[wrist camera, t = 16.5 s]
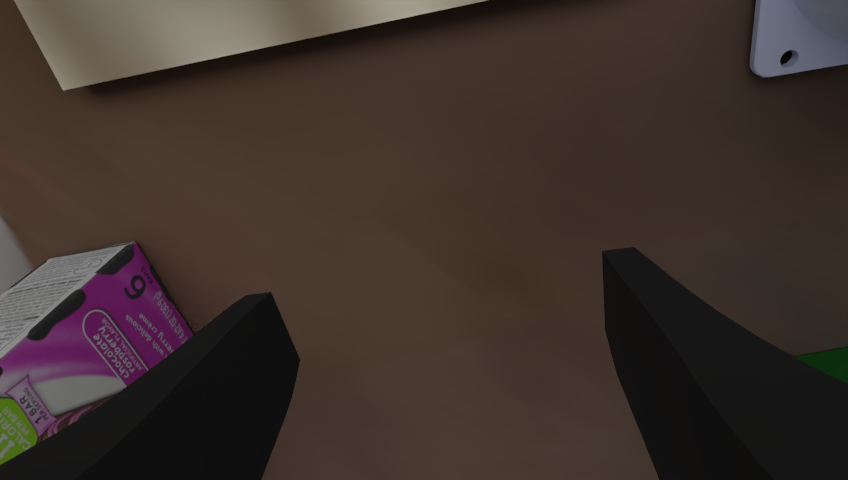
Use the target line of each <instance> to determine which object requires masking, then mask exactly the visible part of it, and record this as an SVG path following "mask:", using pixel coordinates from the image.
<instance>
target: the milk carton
mask: <svg viewBox="0 0 848 480" xmlns="http://www.w3.org/2000/svg"><path fill="white" fill-rule="evenodd" d="M794 357H795V358H797V359H799V360H801V361H803V362H804V363H806V364H808V365H810V366H812V367H814V368H816V369H818V370H820V371H822V372H824V373H826V374H828V375H830V376H832V377H834V378H836V379H838V380H840V381H843V382H845V383H847V384H848V347H847V348H841V349H835V350H830V351H824V352H818V353H812V354H806V355H800V356H794Z"/></svg>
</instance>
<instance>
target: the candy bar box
mask: <svg viewBox="0 0 848 480" xmlns="http://www.w3.org/2000/svg"><path fill="white" fill-rule="evenodd" d="M192 336H193V333H192V332H191V330H190V329H189V327H188V326H187V324H186V322H185V321H184V319H183V318H182V316H181V315H180V313H179V311H178V310H177V308H176V307H175V305H174V303H173V302H172V300H171V298H170V297H169V295H168V294H167V292H166V290H165V289H164V287H163V285H162V284H161V282H160V281H159V279H158V278H157V276H156V274H155V273H154V271H153V269H152V268H151V266H150V265H149V263H148V261H147V260H146V258H145V257H144V255H143V253H142V252H141V250H140V248H139V247H138V245H137V244H136V243H135V242H127V243H122V244H116V245H112V246H109V247H106V248H102V249H99V250H93V251H88V252H81V253H76V254H70V255H65V256H62V257H56V258H51V259H48V260H47V261H45V262H44V263H42V264H41V265H40V266H38V267H37V268H35V269H34V270H33V271H31V272H30V273H29V274H28V275H26V276H25V277H24V278H22V279H21V280H20V281H18V282H17V283H16V284H15V285H13V286H11V287H10V288H9V289H8V290H7V291H6V292H4V293H3V294H2V295H0V465H1V464H3V463H4V462H6V461H8V460H10V459H12V458H14V457H15V456H17V455H19V454H20V453H22V452H24V451H26V450H27V449H29V448H31V447H33V446H34V445H36V444H38V443H40V442H41V441H43V440H45V439H46V438H48V437H50V436H52V435H53V434H55V433H57V432H59V431H60V430H62V429H64V428H65V427H67V426H69V425H70V424H72V423H73V422H75V421H77V420H78V419H80V418H81V417H83V416H84V415H86V414H87V413H89V412H90V411H92V410H94V409H95V408H97V407H98V406H100V405H101V404H103V403H104V402H106V401H107V400H109V399H110V398H111V397H113V396H114V395H116V394H117V393H119V392H120V391H121V390H123V389H124V388H126V387H127V386H128V385H130V384H131V383H132V382H134V381H135V380H136V379H138V378H139V377H140V376H142V375H143V374H144V373H146V372H147V371H148V370H150V369H151V368H152V367H154V366H155V365H156V364H158V363H159V362H160V361H162V360H163V359H164V358H166V357H167V356H168V355H170V354H171V353H172V352H173V351H175V350H176V349H177V348H178V347H180V346H181V345H182V344H183V343H185V342H186V341H187V340H188V339H190V338H191V337H192Z"/></svg>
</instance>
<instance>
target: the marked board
mask: <svg viewBox="0 0 848 480" xmlns="http://www.w3.org/2000/svg"><path fill="white" fill-rule="evenodd" d="M14 1H15V3H16V5H17V7H18V8H19V10H20V12H21V14H22V16H23V18H24V19H25V21H26V23H27V25H28V27H29V29H30V30H31V32H32V34H33V36H34V38H35V40H36V42H37V43H38V45H39V47H40V49H41V51H42V53H43V54H44V56H45V58H46V60H47V62H48V64H49V65H50V67H51V69H52V71H53V73H54V75H55V76H56V78H57V80H58V82H59V84H60V86H61V87H62V89H63V91H64V90H68V89H73V88H78V87H82V86H87V85H92V84H97V83H101V82H106V81H111V80H115V79H120V78H125V77H129V76H134V75H139V74H144V73H148V72H153V71H158V70H162V69H167V68H172V67H177V66H181V65H186V64H191V63H195V62H200V61H205V60H210V59H214V58H219V57H224V56H228V55H233V54H238V53H243V52H247V51H252V50H257V49H261V48H266V47H271V46H275V45H280V44H285V43H290V42H294V41H299V40H304V39H308V38H313V37H318V36H323V35H327V34H332V33H337V32H341V31H346V30H351V29H356V28H360V27H365V26H370V25H374V24H379V23H384V22H388V21H393V20H398V19H403V18H407V17H412V16H417V15H421V14H426V13H431V12H436V11H440V10H445V9H450V8H454V7H459V6H464V5H469V4H473V3H478V2H483V1H487V0H14Z"/></svg>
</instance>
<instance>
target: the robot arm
mask: <svg viewBox="0 0 848 480" xmlns="http://www.w3.org/2000/svg"><path fill="white" fill-rule="evenodd" d="M789 50H791V51H792V56H791V58H790V60H789V61H788V62H787V63H785V64H782V65H781V64H780V59H781V57H782V55H783V54H784V53H785V52H787V51H789ZM844 64H848V0H756V6H755V15H754V25H753V35H752V44H751V54H750V69H751V70H752V71H753V73H755V74H757V75H759V76H761V77H774V76H780V75H786V74H792V73H798V72H803V71H809V70H815V69H821V68H827V67H833V66H839V65H844ZM602 258H603V284H604V309H605V330H606V334H607V338H608V342H609V346H610V350H611V354H612V357H613V361H614V365H615V368H616V372H617V375H618V377H619V380H620V383H621V385H622V388H623V390H624V393H625V395H626V398H627V400H628V403H629V405H630V408H631V410H632V413H633V415H634V417H635V420H636V422H637V425H638V427H639V430H640V432H641V435H642V437H643V440H644V442H645V445H646V447H647V450H648V452H649V455H650V457H651V459H652V462H653V464H654V467H655V469H656V472H657V474H658V477H659V480H848V384H847V383H845V382H843V381H840V380H838V379H836V378H834V377H832V376H830V375H828V374H826V373H824V372H822V371H820V370H818V369H816V368H814V367H812V366H810V365H808V364H806V363H804V362H803V361H801V360H799V359H797V358H795V357H793V356H792V355H790V354H788V353H786V352H784V351H782V350H781V349H779V348H777V347H775V346H773V345H771V344H770V343H768V342H766V341H765V340H763V339H761V338H759V337H758V336H756V335H754V334H753V333H751V332H749V331H748V330H746V329H745V328H743V327H742V326H740V325H739V324H737V323H735V322H734V321H732V320H731V319H729V318H728V317H726V316H724V315H723V314H721V313H720V312H719V311H717V310H716V309H714V308H713V307H711V306H710V305H708V304H707V303H706V302H704V301H703V300H702V299H700V298H699V297H697V296H696V295H695V294H693V293H692V292H691V291H689V290H688V289H686V288H685V287H684V286H683V285H681V284H680V283H679V282H677V281H676V280H675V279H674V278H672V277H671V276H670V275H668V274H667V273H666V272H665V271H663V270H662V269H661V268H660V267H658V266H657V265H656V264H655V263H653V262H652V261H651V260H650V259H648V258H647V257H646V256H645V255H643V254H642V253H641V252H640V251H638V250H637V249H636V248H634V247H632V248H624V249H615V250H607V251H602ZM299 362H300V359H299V356H298V354H297V352H296V349H295V347H294V345H293V342H292V340H291V338H290V335H289V333H288V331H287V328H286V326H285V324H284V321H283V319H282V317H281V314H280V312H279V310H278V307H277V305H276V303H275V300H274V298H273V296H272V293H271V292H269V293H261V294H253V295H246V296H245V297H243V298H241V299H240V300H238V301H237V302H236V303H234V304H233V305H231V306H230V307H229V308H227V309H226V310H225V311H223V312H222V313H221V314H220V315H218V316H217V317H216V318H215V319H213V320H212V321H211V322H210V323H208V324H207V325H206V326H205V327H203V328H202V329H201V330H200V331H198V332H197V333H196V334H195V335H193V336H192V337H191V338H190V339H188V340H187V341H186V342H185V343H183V344H182V345H181V346H180V347H178V348H177V349H176V350H175V351H173V352H172V353H171V354H170V355H168V356H167V357H166V358H164V359H163V360H162V361H160V362H159V363H158V364H156V365H155V366H154V367H152V368H151V369H150V370H148V371H147V372H146V373H144V374H143V375H142V376H140V377H139V378H138V379H136V380H135V381H134V382H132V383H131V384H130V385H128V386H127V387H126V388H124V389H123V390H121V391H120V392H119V393H117V394H116V395H114V396H113V397H111V398H110V399H109V400H107V401H106V402H104V403H103V404H101V405H100V406H98V407H97V408H95V409H94V410H92V411H90V412H89V413H87V414H86V415H84V416H83V417H81V418H80V419H78V420H77V421H75V422H73V423H72V424H70V425H69V426H67V427H65V428H64V429H62V430H60V431H59V432H57V433H55V434H53V435H52V436H50V437H48V438H46V439H45V440H43V441H41V442H40V443H38V444H36V445H34V446H33V447H31V448H29V449H27V450H26V451H24V452H22V453H20V454H19V455H17V456H15V457H14V458H12V459H10V460H8V461H6V462H4V463H3V464H1V465H0V480H261V479H262V476H263V473H264V471H265V468H266V465H267V463H268V460H269V458H270V455H271V452H272V450H273V447H274V445H275V442H276V439H277V437H278V434H279V432H280V429H281V426H282V424H283V421H284V418H285V416H286V413H287V410H288V407H289V404H290V402H291V398H292V394H293V390H294V386H295V382H296V377H297V372H298V367H299Z"/></svg>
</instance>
